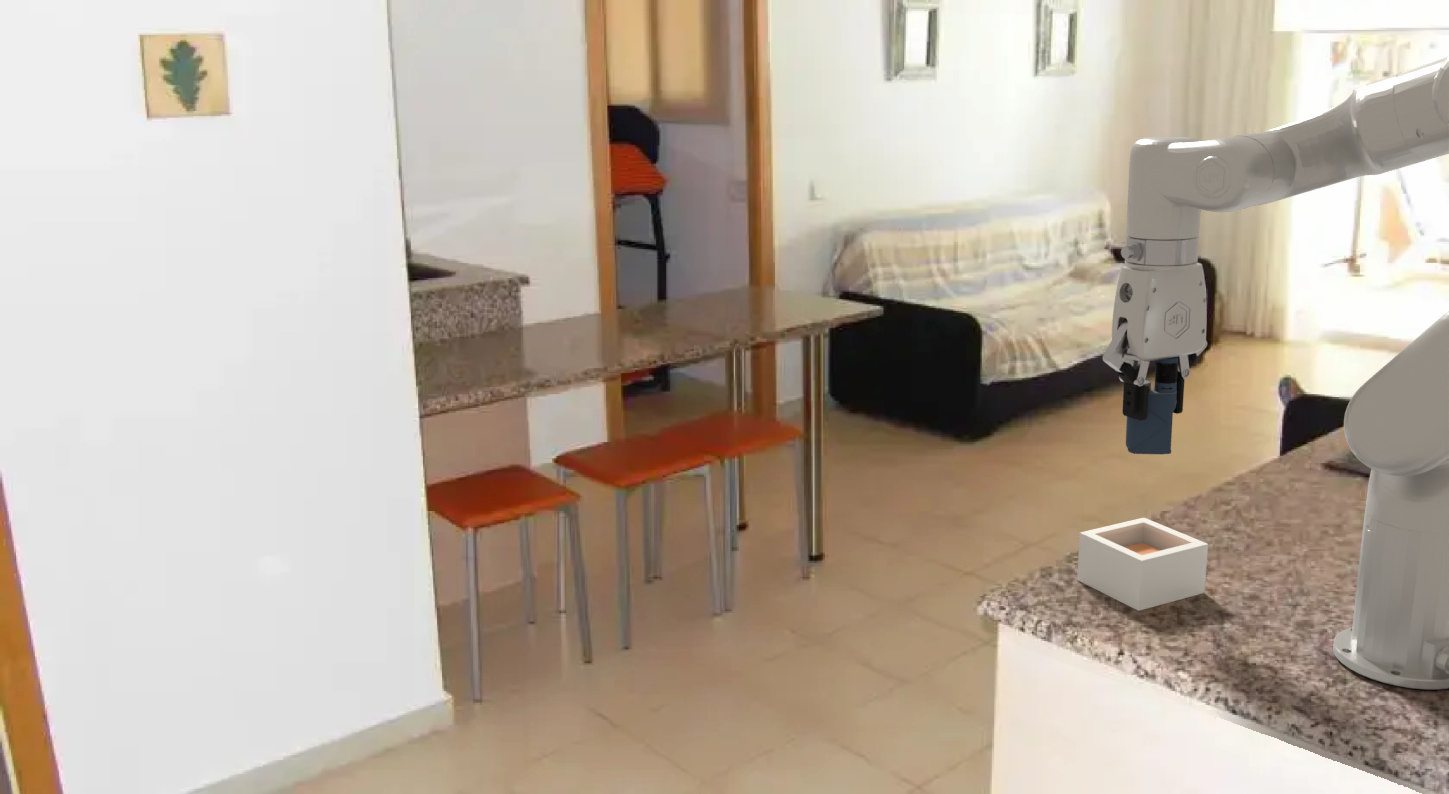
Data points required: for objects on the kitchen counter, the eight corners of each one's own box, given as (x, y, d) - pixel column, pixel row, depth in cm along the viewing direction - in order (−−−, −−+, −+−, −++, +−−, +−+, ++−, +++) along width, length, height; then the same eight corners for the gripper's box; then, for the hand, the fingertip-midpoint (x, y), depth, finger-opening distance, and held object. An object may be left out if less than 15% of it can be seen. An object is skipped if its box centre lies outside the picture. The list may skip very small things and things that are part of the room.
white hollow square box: (1204, 592, 145) (1208, 544, 143) (1138, 611, 141) (1141, 560, 139) (1141, 563, 154) (1144, 517, 152) (1077, 580, 149) (1079, 532, 148)
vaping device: (1175, 455, 141) (1181, 351, 138) (1126, 454, 142) (1130, 350, 139) (1172, 448, 144) (1177, 345, 141) (1124, 447, 145) (1128, 345, 142)
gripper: (1126, 264, 130) (1118, 433, 135) (1245, 249, 137) (1233, 410, 142) (1077, 255, 137) (1070, 417, 141) (1192, 242, 144) (1182, 396, 149)
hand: (1152, 412), depth 142 cm, fingers closed on vaping device, 4 cm apart
